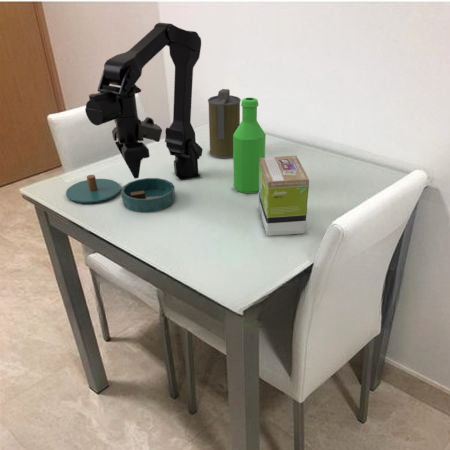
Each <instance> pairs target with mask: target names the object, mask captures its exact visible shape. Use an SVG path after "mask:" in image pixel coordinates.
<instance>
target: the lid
mask: <svg viewBox="0 0 450 450" xmlns="http://www.w3.org/2000/svg"><path fill="white" fill-rule="evenodd" d="M120 192H121V184H120V183H118V182H117V181H115V180H113V179H108V178H96V175H95V174H89V175H87V176H86V179H85V180H81V181H78V182H76V183H74V184H72V185H70V186H69V187H68V188H67V190H66V191H65V195H66V197H67V199H69V200H70V201H73V202H75V203H81V204H82V203H83V204H93V203H99V202H104V201H107V200H110V199H112V198H114V197H116V196H117V195H118V194H119V193H120Z"/></svg>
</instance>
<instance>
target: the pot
mask: <svg viewBox="0 0 450 450" xmlns="http://www.w3.org/2000/svg"><path fill="white" fill-rule="evenodd" d="M137 191H144V192H145V197H151V196H157V195H163V196H160V197H157V198H151V199H137V198H132V197H131V195H130V193H131V192H137ZM120 192H121V198H122V203H123V205H124V207H125V208H126V209H128V210H130V211H133V212H138V213H152V212H160V211H162V210H165V209H167V208H169V207H171V206H172V205H173V204H174V203H175V201H176V192H175V185H174V183H173V182H172V181H170V180H168V179H164V178H159V177H145V178H137V179H135V180H132V181H129V182H127V183H126V184H125V185H123V186H122V188H121V189H120Z"/></svg>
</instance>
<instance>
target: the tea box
mask: <svg viewBox="0 0 450 450" xmlns="http://www.w3.org/2000/svg"><path fill="white" fill-rule="evenodd" d="M309 189H310V177H308V175H307V173H306V171H305V169H304V167H303V165H302V164H301V162H300V160H299V158H298V156H297V155H284V156H283V155H282V156H271V157H268V156H267V157H265V158H260V159H259V191H258V210H259V213H260V217H261V220H262V224H263V228H264V229H265V234H266V236H267V237H272V236H273V237H274V236H286V235H298V234H301V235H302V234H305V233H306V228H307V227H306V226H307V214H308V202H309Z"/></svg>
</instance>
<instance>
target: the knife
mask: <svg viewBox="0 0 450 450" xmlns="http://www.w3.org/2000/svg"><path fill="white" fill-rule="evenodd" d="M130 195H131V197H132V198H137V199H151V198H157V197H160V196H163V195H157V196H151V197H145V192H144V191H137V192H131V193H130Z"/></svg>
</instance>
